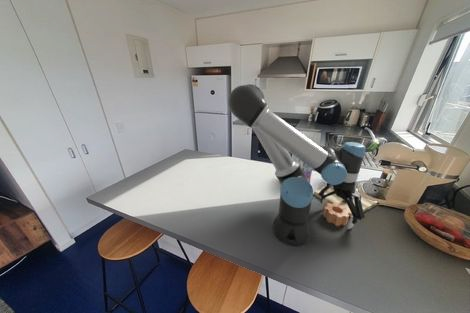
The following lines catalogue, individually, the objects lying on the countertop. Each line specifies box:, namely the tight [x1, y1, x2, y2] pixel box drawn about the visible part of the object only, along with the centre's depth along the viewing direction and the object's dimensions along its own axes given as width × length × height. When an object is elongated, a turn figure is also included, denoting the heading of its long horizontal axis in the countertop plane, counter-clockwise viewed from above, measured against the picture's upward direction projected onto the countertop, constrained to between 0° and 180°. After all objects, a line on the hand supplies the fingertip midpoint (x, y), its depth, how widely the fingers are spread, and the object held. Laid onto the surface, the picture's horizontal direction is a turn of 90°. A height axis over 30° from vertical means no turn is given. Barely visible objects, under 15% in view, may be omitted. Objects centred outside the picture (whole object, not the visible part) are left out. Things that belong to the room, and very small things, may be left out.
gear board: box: [313, 186, 378, 218], centre depth 95 cm, size 24×22×8 cm
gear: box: [322, 203, 350, 227], centre depth 81 cm, size 10×10×5 cm
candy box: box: [295, 156, 313, 184], centre depth 110 cm, size 14×6×16 cm, turn 179°
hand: (335, 218), depth 82 cm, fingers open, 13 cm apart
